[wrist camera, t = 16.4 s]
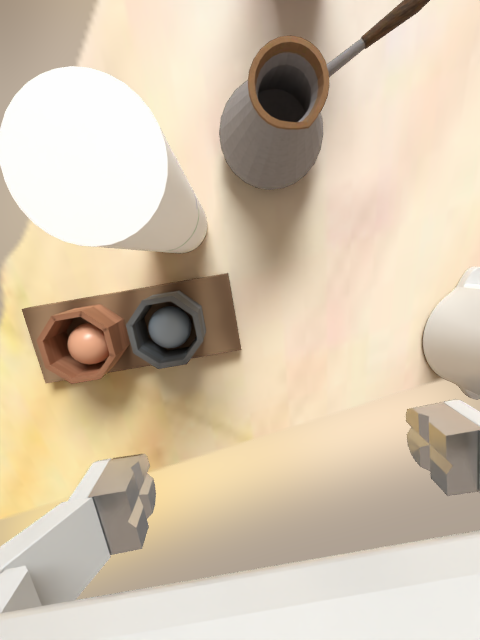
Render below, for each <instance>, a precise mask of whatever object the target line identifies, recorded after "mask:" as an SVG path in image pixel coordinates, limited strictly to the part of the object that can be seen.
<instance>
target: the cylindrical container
mask: <svg viewBox="0 0 480 640" xmlns="http://www.w3.org/2000/svg"><path fill="white" fill-rule="evenodd" d="M0 165H1V169H2V172H3V176H4V180H5V182H6V184H7V186H8V189H9V191H10V193H11V195H12V197H13V198H14V200H15V201H16V203H17V204H18V206H19V207H20V209H21V210H22V211H23V212H24V213H25V214H26V215H27V216H28V218H29V219H30V220H31V221H32V222H33V223H34V224H36V225H37V226H38V227H40V228H41V229H43V230H44V231H45V232H47V233H48V234H50V235H52V236H54V237H56V238H58V239H60V240H63V241H65V242H69V243H73V244H76V245H80V246H93V247H105V248H118V249H131V250H143V251H155V252H168V253H187V252H190V251H192V250H194V249H195V248H197V247H198V246H199V245H200V244H201V242H202V241H203V240H204V237H205V235H206V232H207V217H206V214H205V212H204V210H203V208H202V206H201V204H200V202H199V200H198V198H197V196H196V195H195V193H194V191H193V189H192V187H191V185H190V183H189V181H188V179H187V177H186V176H185V174H184V172H183V170H182V168H181V166H180V164H179V162H178V160H177V158H176V157H175V155H174V153H173V151H172V149H171V147H170V145H169V143H168V142H167V140H166V138H165V136H164V134H163V132H162V130H161V128H160V127H159V125H158V123H157V121H156V119H155V117H154V116H153V114H152V112H151V110H150V109H149V108H148V106H147V105H146V104H145V103H144V101H143V100H142V99H141V98H140V96H139V95H138V94H136V93H135V92H134V91H133V90H132V89H131V88H129V87H128V86H127V85H126V84H125V83H123V82H122V81H120V80H118V79H116V78H114V77H113V76H111V75H109V74H107V73H104V72H101V71H98V70H95V69H91V68H85V67H74V66H71V67H63V68H56V69H53V70H50V71H47V72H45V73H42V74H40V75H38V76H37V77H35V78H34V79H32V80H30V81H29V82H27V83H26V84H25V85H24V86H23V87H22V88H21V89H20V90H19V92H18V93H17V94H16V95H15V96H14V98H13V100H12V101H11V103H10V104H9V106H8V108H7V110H6V112H5V115H4V118H3V121H2V125H1V128H0Z"/></svg>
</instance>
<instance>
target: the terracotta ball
mask: <svg viewBox="0 0 480 640" xmlns="http://www.w3.org/2000/svg"><path fill="white" fill-rule="evenodd" d="M68 350H69V352H70V354H71V356H72V357H73V358H74V359H75V360H77V361H78V362H81V363H84V364H97V363H100V362H102V361H104V360H105V359H106V358H108V357H109V355H110V354H109V350H108V347H107V343H106V339H105V335H104V332H103V331H102V330H101V329H99V328H98V327H96V326H95V325H93V324H91V323H84V324H82V325H79V326H78V327H76V328H75V329H74V330H73V331H72V332H71V334H70V336H69V338H68Z"/></svg>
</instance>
